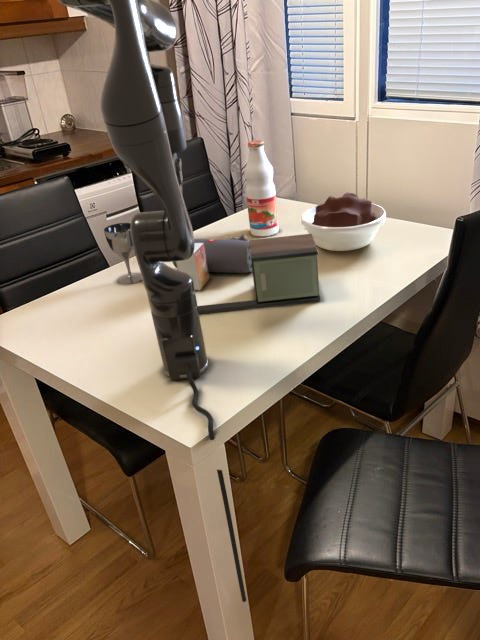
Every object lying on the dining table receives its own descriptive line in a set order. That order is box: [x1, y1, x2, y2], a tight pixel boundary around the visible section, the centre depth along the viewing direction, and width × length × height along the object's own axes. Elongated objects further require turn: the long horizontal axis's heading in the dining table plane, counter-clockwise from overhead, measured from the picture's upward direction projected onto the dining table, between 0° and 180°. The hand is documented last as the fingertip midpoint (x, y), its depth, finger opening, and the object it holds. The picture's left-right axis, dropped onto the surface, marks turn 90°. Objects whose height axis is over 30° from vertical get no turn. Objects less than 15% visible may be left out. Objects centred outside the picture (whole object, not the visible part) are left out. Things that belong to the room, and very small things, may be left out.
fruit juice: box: [243, 139, 280, 237], centre depth 185 cm, size 9×9×28 cm
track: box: [197, 246, 321, 315], centre depth 144 cm, size 3×32×13 cm, turn 95°
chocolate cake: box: [300, 192, 387, 252], centre depth 174 cm, size 25×25×15 cm
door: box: [253, 255, 319, 302], centre depth 144 cm, size 2×15×11 cm, turn 95°
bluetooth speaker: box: [172, 238, 253, 274], centre depth 166 cm, size 23×9×10 cm
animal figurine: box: [229, 233, 249, 241], centre depth 181 cm, size 12×4×5 cm
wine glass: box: [103, 222, 143, 285], centre depth 164 cm, size 8×8×15 cm
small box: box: [176, 243, 210, 291], centre depth 159 cm, size 8×6×10 cm
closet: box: [248, 233, 320, 300], centre depth 150 cm, size 10×16×13 cm, turn 95°
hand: (179, 212), depth 127 cm, fingers closed
